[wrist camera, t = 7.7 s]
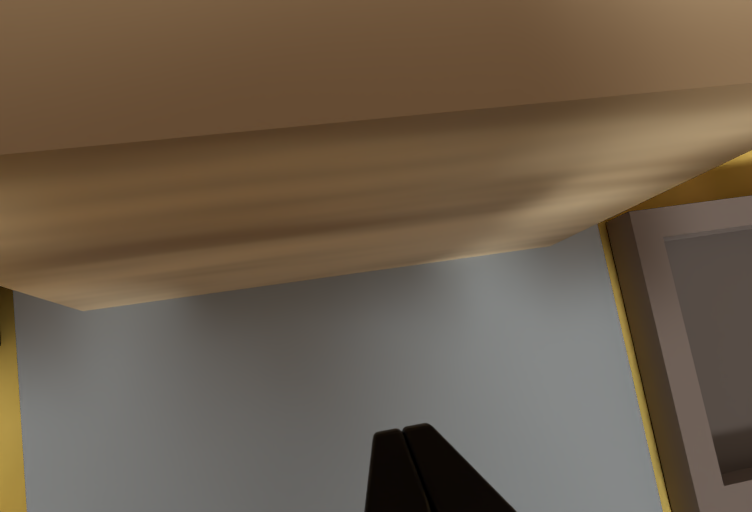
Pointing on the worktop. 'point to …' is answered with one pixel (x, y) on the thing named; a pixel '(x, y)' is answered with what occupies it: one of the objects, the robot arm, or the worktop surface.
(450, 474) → the robot arm
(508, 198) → the oak block
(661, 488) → the worktop surface
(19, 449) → the worktop surface
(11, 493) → the worktop surface
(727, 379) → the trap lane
